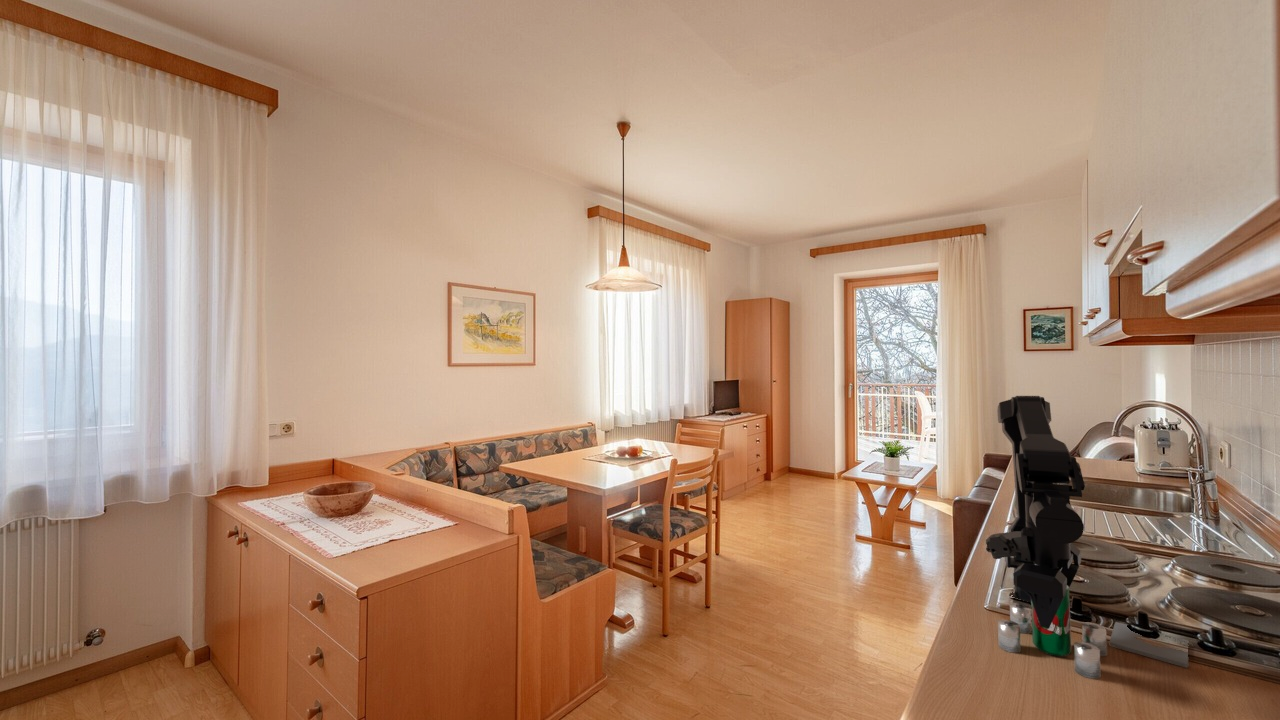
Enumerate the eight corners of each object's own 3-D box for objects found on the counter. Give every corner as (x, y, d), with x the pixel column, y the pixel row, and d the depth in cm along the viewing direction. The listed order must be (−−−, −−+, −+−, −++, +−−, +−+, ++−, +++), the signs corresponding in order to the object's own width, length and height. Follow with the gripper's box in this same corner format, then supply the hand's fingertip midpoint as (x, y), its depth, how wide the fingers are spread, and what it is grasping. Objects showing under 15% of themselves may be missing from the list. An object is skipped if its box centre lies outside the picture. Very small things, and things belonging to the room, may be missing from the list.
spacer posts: (1012, 622, 94) (1011, 600, 94) (1108, 650, 85) (1107, 626, 85) (996, 647, 87) (995, 623, 87) (1099, 681, 77) (1098, 654, 77)
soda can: (1057, 641, 88) (1054, 571, 88) (1079, 658, 83) (1076, 584, 83) (1025, 640, 89) (1023, 571, 89) (1045, 658, 84) (1043, 584, 84)
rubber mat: (1115, 625, 92) (1115, 621, 92) (1188, 644, 86) (1188, 640, 86) (1109, 645, 86) (1109, 642, 86) (1188, 668, 80) (1187, 664, 80)
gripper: (1003, 501, 98) (1006, 583, 98) (974, 527, 85) (978, 620, 86) (1080, 513, 90) (1083, 602, 90) (1060, 543, 77) (1064, 646, 77)
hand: (1050, 616), depth 86 cm, fingers open, 9 cm apart
